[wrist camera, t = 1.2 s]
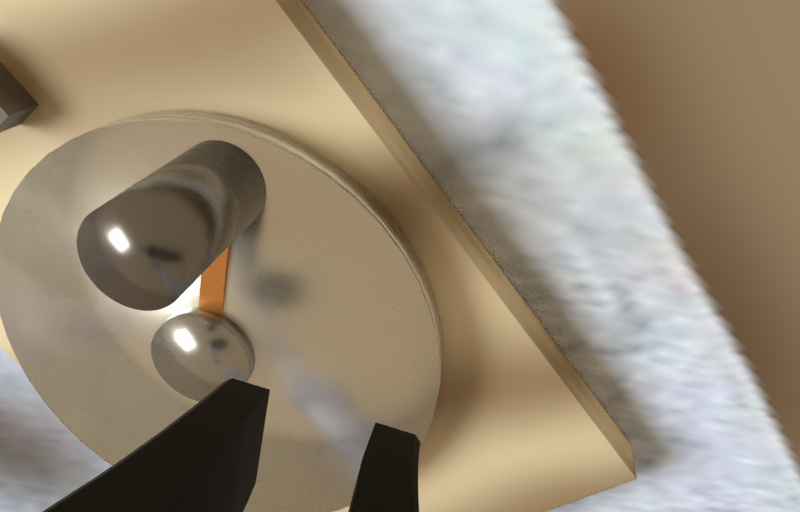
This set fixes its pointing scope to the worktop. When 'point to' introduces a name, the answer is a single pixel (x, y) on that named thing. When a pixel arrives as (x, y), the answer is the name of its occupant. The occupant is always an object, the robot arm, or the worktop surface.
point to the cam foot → (218, 296)
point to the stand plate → (368, 165)
